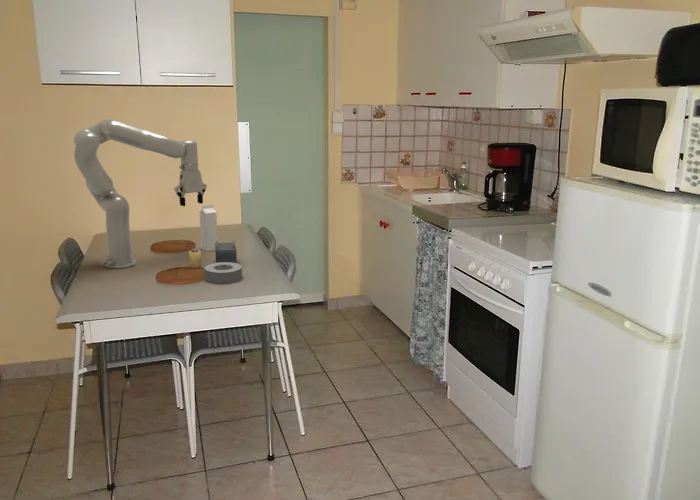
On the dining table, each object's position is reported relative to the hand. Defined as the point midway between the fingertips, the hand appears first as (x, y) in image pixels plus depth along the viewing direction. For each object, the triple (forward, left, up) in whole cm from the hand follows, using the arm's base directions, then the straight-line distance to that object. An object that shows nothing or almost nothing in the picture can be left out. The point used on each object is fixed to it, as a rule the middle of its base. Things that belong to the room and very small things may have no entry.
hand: (191, 204), depth 279 cm
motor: (-3, -22, -24) cm, 33 cm away
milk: (+12, +1, -25) cm, 27 cm away
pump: (-15, -15, -24) cm, 32 cm away
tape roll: (-22, -37, -25) cm, 50 cm away
